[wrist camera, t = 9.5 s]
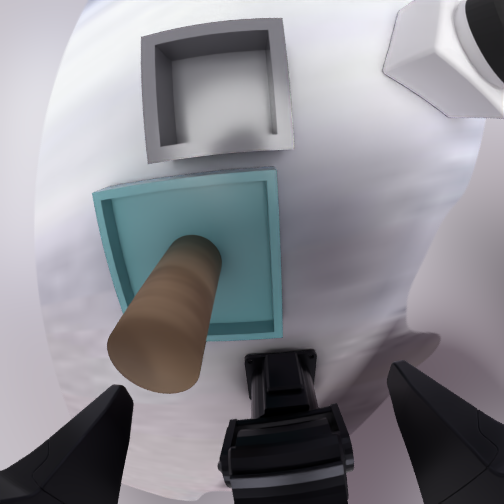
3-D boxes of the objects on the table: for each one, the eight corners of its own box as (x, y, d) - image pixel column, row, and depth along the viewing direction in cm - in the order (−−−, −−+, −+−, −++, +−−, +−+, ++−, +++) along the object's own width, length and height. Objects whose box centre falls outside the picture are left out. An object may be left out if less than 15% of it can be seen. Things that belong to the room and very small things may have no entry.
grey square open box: (284, 148, 17) (294, 149, 13) (171, 158, 17) (147, 164, 13) (275, 44, 14) (282, 18, 10) (164, 57, 15) (141, 37, 10)
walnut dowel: (224, 285, 20) (208, 395, 11) (172, 287, 20) (126, 389, 11) (218, 232, 18) (188, 323, 9) (162, 237, 18) (93, 322, 9)
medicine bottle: (449, 119, 16) (567, 129, 5) (380, 73, 15) (498, 30, 4) (461, 56, 13) (560, 41, 2) (397, 10, 12) (487, -47, 1)
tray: (279, 318, 22) (282, 337, 20) (142, 322, 22) (133, 340, 20) (273, 166, 18) (276, 169, 15) (108, 186, 18) (92, 193, 16)
